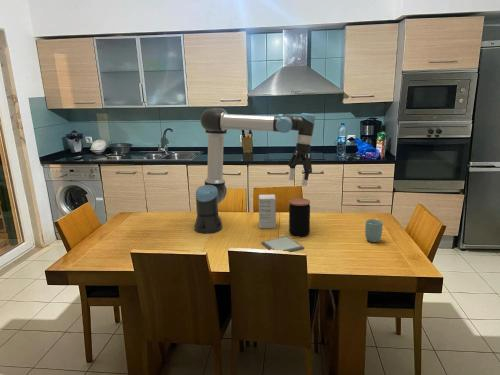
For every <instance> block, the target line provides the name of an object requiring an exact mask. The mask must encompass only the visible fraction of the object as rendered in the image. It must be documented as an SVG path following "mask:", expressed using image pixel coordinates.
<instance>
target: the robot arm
mask: <svg viewBox="0 0 500 375" xmlns="http://www.w3.org/2000/svg"><path fill="white" fill-rule="evenodd" d="M199 119H200V120H199V121H200V125H201V127H202V128H203V129H204V130H205V134H206V135H207V136H208V137H207V143H208V144H207V177H206V178H205V179H204V185H201V186H199V187H197V188H196V190H195V204H196V205H195V206H196V218H195V222H194V231H195V232H197V233H200V234H214V233H216V232H217V233H218V232H220V231H221V230H222V229H223V223H222V221H221V218H220V215H219V204H220V203H221V202H222V201H224V199H225V198H226V195H227V193H228V192H227V191H228V190H227V186H226V181H225V179H224V176H223V174H224V173H223V172H224V167H223V166H224V138H225V135H226V134H228V133H227V130H239V131H256V132H257V131H259V132H276V133H281V134H287V133H289V131H297V136H296V137H297V138H296V143H295V144H296V145H295V150H293V153H292V155H291V156H292V157H291V158H290V161H289V162H288V167H289V175H288V180H289V181H295V174H296V166H297V165H298V164H299V162H301V164H302V168H303V173H302V174H303V176H302V181H301V186H302V187H307V186H308V181H309V175H310V174H312V173H313V166H312V154H311V153H309V152H310V151H311V144H312V140H313V133H314V128H315V120H316V116H315V114H313V113H306V112H302V113H301V114H300V115H298V116H297V115H290V114H286V113H284V114H283V113H279V114H278V115H275V116H274V115H257V114H254V115H252V114H233V113H232V114H231V113H228V112H227V111H226V110H225V109H224V108H222V107H221V108H220V107H213V108H207V109H205V110H204V111H203V112H202V113H201V116H200V117H199Z"/></svg>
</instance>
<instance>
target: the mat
mask: <svg viewBox="0 0 500 375" xmlns="http://www.w3.org/2000/svg"><path fill="white" fill-rule="evenodd" d="M261 245H262V246H264V247H265V248H266V249H267V250H269V249H273V250H283V251H290V252H289V253H292V252H297V251H301V250H304V249H305V247H304V246H303V245H301V244H300V243H299V242H297V241H296V240H295V239H292V238H291V237H289V236H284V237H283V236H282V237H279V238H274V239H269V240H265V241H261Z"/></svg>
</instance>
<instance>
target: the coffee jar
mask: <svg viewBox="0 0 500 375" xmlns="http://www.w3.org/2000/svg"><path fill="white" fill-rule="evenodd" d="M310 203H311V200H310V199H308V198H303V197H296V198H295V197H294V198H291V199H289V205H288V208H289V209H288V211H289V212H288V225H289V226H288V232H289V234H290V235H291V236H293V237H295V238H304V237H307V236H308V235H309V234H310V232H311V231H310V230H311V228H310V227H311V205H310Z"/></svg>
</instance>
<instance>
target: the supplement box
mask: <svg viewBox="0 0 500 375" xmlns="http://www.w3.org/2000/svg"><path fill="white" fill-rule="evenodd" d="M276 200H277V199H276V195H275V194H258V227H259V229H276V228H277V226H276V224H277V223H276V222H277V217H276V216H277V214H276V212H277V209H276V208H277V206H276V205H277V204H276V203H277V201H276Z"/></svg>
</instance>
